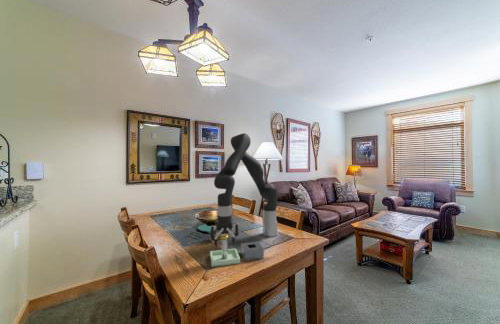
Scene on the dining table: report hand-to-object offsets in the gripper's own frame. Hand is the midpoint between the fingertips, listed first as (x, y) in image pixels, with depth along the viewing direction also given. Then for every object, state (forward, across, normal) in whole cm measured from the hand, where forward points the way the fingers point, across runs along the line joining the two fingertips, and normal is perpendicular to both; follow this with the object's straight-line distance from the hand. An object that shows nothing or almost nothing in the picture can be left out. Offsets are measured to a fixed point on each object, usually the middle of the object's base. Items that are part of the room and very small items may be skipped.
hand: (224, 244), depth 107 cm
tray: (+8, 0, 0) cm, 8 cm away
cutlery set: (+8, +7, -47) cm, 48 cm away
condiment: (+8, +1, -28) cm, 29 cm away
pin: (+7, 0, 0) cm, 7 cm away
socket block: (+8, -15, -1) cm, 17 cm away
